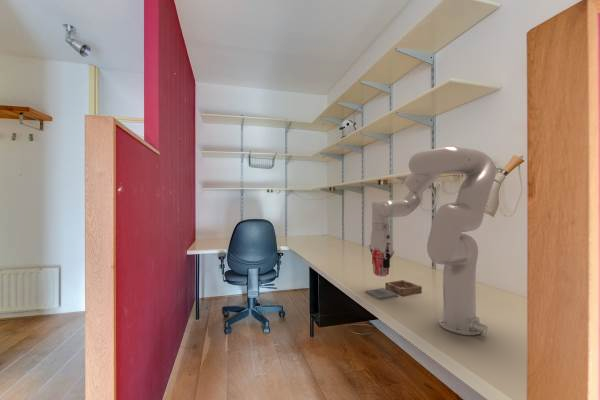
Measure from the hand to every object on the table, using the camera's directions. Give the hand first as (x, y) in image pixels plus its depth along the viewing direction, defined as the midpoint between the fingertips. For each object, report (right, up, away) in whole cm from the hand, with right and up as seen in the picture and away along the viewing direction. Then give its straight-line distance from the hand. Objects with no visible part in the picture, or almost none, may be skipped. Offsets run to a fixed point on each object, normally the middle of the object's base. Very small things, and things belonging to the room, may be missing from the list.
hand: (380, 265), depth 123 cm
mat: (0, -13, 0) cm, 13 cm away
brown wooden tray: (+12, -13, +5) cm, 19 cm away
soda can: (0, -5, 0) cm, 5 cm away
